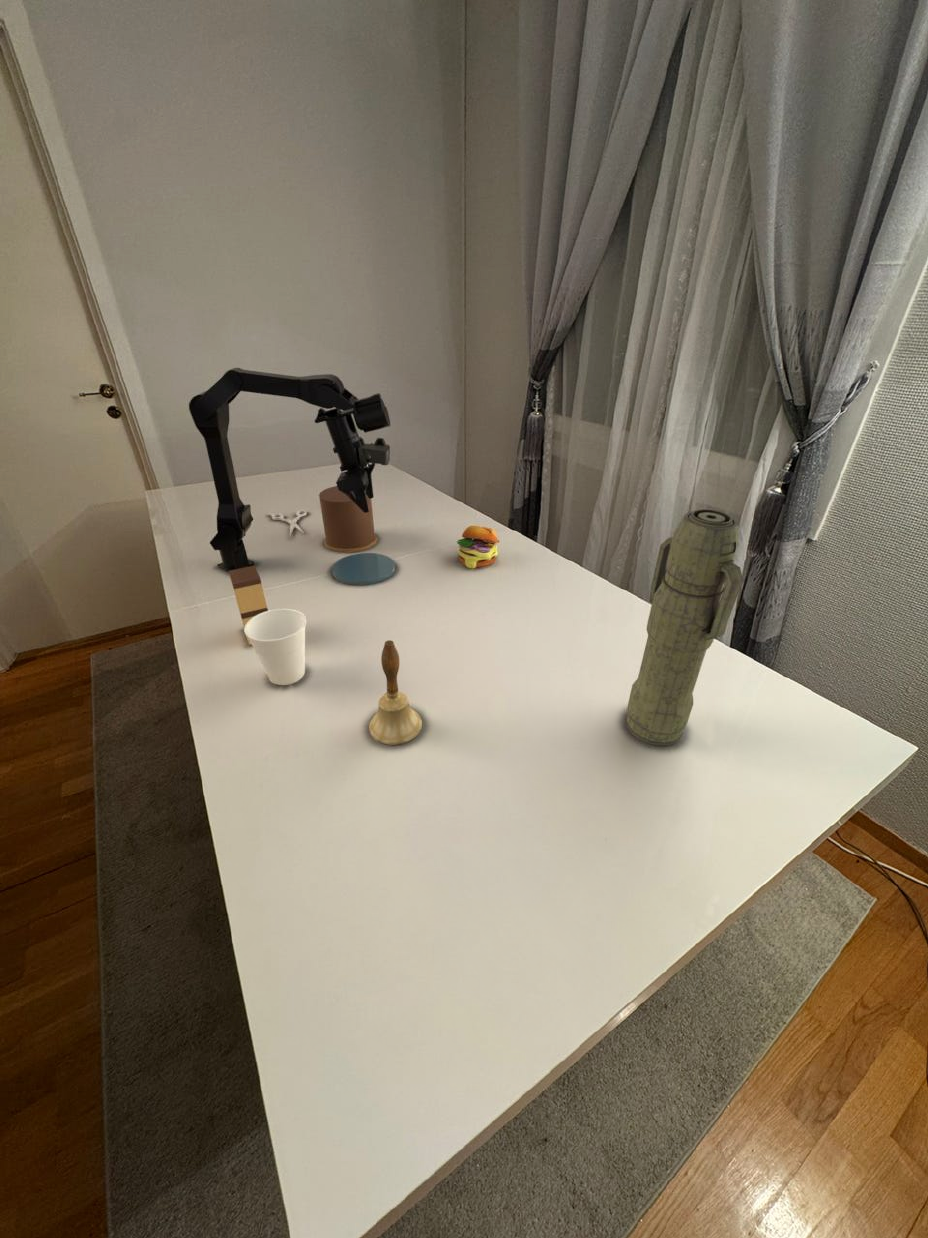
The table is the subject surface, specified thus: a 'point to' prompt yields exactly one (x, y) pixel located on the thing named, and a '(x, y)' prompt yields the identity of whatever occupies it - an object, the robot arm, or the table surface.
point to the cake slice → (248, 593)
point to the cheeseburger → (478, 546)
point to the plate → (363, 569)
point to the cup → (279, 643)
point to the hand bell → (393, 706)
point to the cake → (346, 522)
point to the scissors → (292, 522)
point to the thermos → (683, 622)
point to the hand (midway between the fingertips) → (369, 504)
